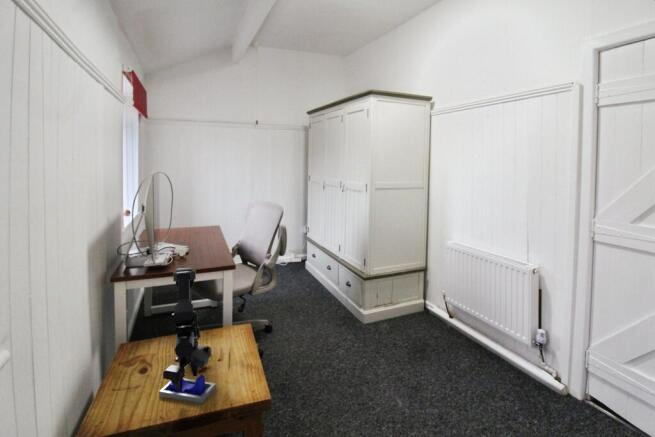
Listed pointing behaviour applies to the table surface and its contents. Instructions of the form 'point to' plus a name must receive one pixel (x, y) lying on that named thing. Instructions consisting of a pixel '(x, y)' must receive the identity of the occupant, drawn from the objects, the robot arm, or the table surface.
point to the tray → (187, 396)
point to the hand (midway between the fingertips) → (187, 383)
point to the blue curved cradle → (191, 386)
